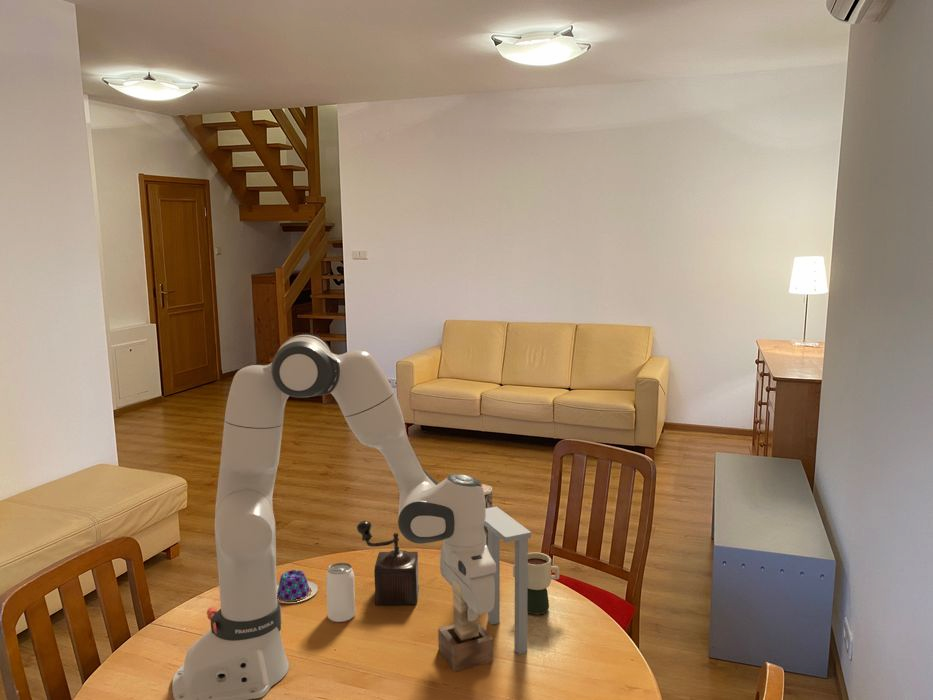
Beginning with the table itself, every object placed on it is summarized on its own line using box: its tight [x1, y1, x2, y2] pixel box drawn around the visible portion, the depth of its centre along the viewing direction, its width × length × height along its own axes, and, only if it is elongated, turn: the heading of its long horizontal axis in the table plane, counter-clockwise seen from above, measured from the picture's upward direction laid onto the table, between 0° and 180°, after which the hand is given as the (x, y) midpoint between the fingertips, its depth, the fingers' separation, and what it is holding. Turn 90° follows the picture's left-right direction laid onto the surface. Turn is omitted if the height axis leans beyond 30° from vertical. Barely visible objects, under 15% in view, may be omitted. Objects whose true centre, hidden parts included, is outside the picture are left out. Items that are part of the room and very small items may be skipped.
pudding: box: [277, 569, 319, 604], centre depth 176 cm, size 12×12×5 cm
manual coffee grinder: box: [356, 520, 420, 607], centre depth 174 cm, size 16×11×18 cm
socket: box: [437, 623, 494, 673], centre depth 149 cm, size 9×9×5 cm
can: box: [325, 562, 356, 623], centre depth 165 cm, size 6×6×12 cm
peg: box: [452, 578, 480, 640], centre depth 148 cm, size 4×4×12 cm
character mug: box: [512, 552, 560, 615], centre depth 167 cm, size 11×7×13 cm, turn 86°
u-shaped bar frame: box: [484, 506, 532, 655], centre depth 154 cm, size 6×16×27 cm, turn 24°
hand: (465, 613), depth 148 cm, fingers closed on peg, 4 cm apart
